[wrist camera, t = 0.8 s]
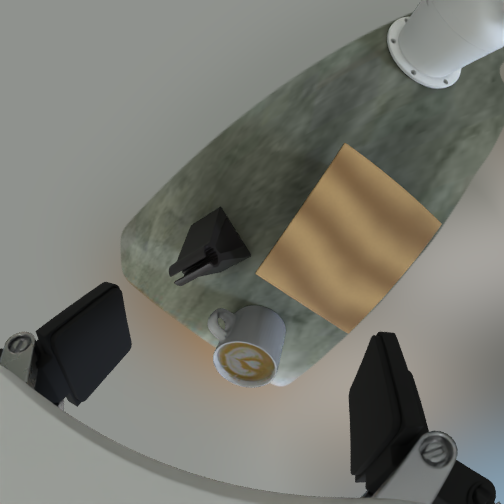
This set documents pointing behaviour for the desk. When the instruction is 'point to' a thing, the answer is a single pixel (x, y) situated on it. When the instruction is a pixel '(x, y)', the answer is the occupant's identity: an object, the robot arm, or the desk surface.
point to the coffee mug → (248, 344)
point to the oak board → (349, 241)
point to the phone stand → (209, 248)
